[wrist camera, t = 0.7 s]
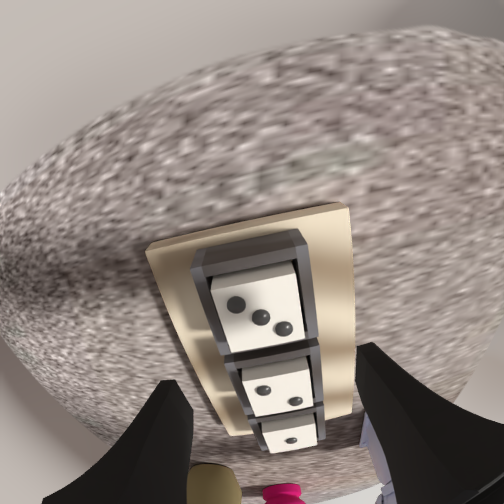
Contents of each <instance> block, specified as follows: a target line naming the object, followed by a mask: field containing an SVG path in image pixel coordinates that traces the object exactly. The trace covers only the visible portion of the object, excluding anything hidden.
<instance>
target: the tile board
mask: <svg viewBox="0 0 504 504" xmlns="http://www.w3.org/2000/svg"><path fill="white" fill-rule="evenodd" d="M145 254H146V256H147V259H148V262H149V265H150V267H151V270H152V273H153V275H154V278H155V281H156V283H157V286H158V288H159V291H160V293H161V296H162V298H163V301H164V303H165V306H166V308H167V310H168V313H169V315H170V317H171V320H172V322H173V324H174V327H175V329H176V331H177V333H178V336H179V338H180V340H181V342H182V345H183V347H184V349H185V351H186V353H187V355H188V357H189V359H190V362H191V364H192V366H193V368H194V370H195V372H196V374H197V376H198V378H199V380H200V382H201V384H202V386H203V388H204V390H205V391H206V393H207V395H208V397H209V399H210V401H211V403H212V405H213V407H214V408H215V410H216V412H217V414H218V416H219V417H220V419H221V421H222V423H223V424H224V426H225V428H226V430H227V431H228V433H229V435H230V436H237V435H246V434H254V435H255V437H256V440H257V442H258V444H259V446H260V448H261V450H262V451H264V450H269V448H268V446H267V443H266V441H265V438H264V436H263V434H262V423H261V422H265V421H271V420H277V419H283V418H288V417H294V416H299V415H303V414H308V413H313V416H314V421H315V427H316V437H317V441H319V440H323V439H326V434H325V420H328V419H332V418H336V417H340V416H343V415H347V414H350V413H352V401H353V385H354V364H355V291H354V268H353V252H352V239H351V227H350V217H349V208H348V207H347V206H345V205H344V204H342V203H341V202H337V203H332V204H327V205H321V206H316V207H311V208H306V209H301V210H296V211H291V212H286V213H281V214H276V215H271V216H267V217H262V218H257V219H252V220H248V221H243V222H238V223H234V224H229V225H225V226H220V227H216V228H211V229H207V230H203V231H198V232H194V233H190V234H185V235H181V236H177V237H173V238H169V239H164V240H160V241H156V242H152V243H151V244H150V246H149V247H148V248H147V249H146V251H145ZM286 260H291V263H292V266H293V268H294V271H295V274H296V280H297V286H298V293H299V299H300V306H301V313H302V320H303V327H304V334H305V339H300V340H296V341H291V342H286V343H281V344H276V345H271V346H266V347H261V348H255V349H250V350H244V351H238V352H231V350H230V347H229V344H228V341H227V338H226V335H225V333H224V330H223V327H222V324H221V321H220V318H219V315H218V312H217V309H216V306H215V303H214V300H213V297H212V294H211V285H212V280H213V276H214V275H218V274H223V273H228V272H233V271H238V270H243V269H248V268H253V267H257V266H262V265H267V264H272V263H276V262H281V261H286ZM302 356H306V360H307V363H308V367H309V372H310V381H311V389H312V398H313V406H311V407H306V408H302V409H297V410H292V411H287V412H281V413H276V414H270V415H263V416H257V417H256V416H255V414H254V411H253V409H252V406H251V404H250V401H249V398H248V396H247V393H246V391H245V388H244V385H243V383H242V368H244V367H250V366H256V365H262V364H267V363H273V362H278V361H283V360H288V359H293V358H297V357H302Z"/></svg>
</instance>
